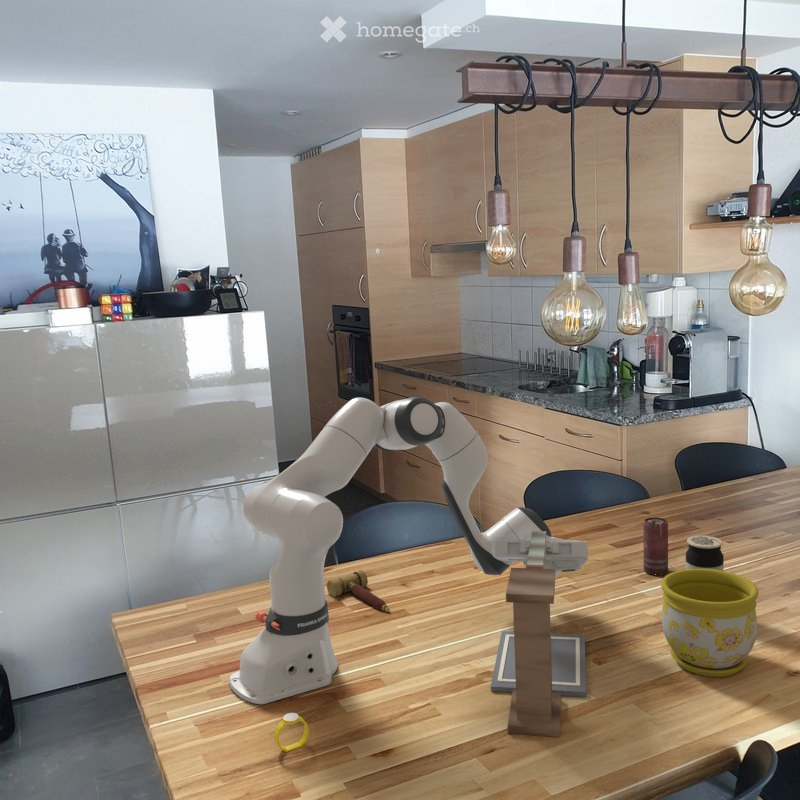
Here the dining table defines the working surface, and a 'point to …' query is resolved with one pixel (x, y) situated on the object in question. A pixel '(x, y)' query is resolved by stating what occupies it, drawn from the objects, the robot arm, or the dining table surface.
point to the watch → (291, 719)
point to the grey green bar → (537, 550)
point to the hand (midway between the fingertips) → (538, 544)
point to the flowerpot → (709, 620)
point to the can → (655, 546)
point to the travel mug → (704, 553)
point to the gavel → (355, 589)
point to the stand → (533, 654)
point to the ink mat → (563, 660)
